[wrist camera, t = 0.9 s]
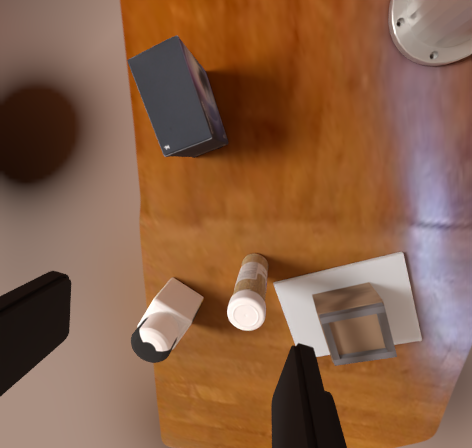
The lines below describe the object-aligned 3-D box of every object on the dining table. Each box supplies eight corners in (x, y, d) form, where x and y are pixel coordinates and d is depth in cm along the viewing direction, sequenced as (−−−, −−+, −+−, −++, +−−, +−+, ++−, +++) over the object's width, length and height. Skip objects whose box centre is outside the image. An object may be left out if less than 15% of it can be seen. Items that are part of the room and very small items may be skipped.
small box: (232, 143, 35) (215, 139, 25) (193, 158, 37) (162, 159, 27) (207, 68, 33) (178, 30, 23) (167, 87, 34) (123, 60, 24)
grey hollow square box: (369, 282, 37) (385, 304, 32) (381, 329, 39) (398, 357, 33) (311, 294, 39) (317, 317, 34) (326, 338, 41) (333, 366, 36)
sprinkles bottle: (270, 275, 40) (267, 332, 27) (243, 277, 41) (229, 332, 28) (266, 251, 39) (262, 297, 26) (239, 253, 40) (223, 299, 27)
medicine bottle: (187, 322, 46) (158, 377, 34) (156, 302, 46) (117, 351, 34) (205, 296, 43) (180, 347, 32) (172, 275, 43) (136, 318, 32)
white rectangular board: (401, 251, 36) (403, 253, 35) (419, 337, 39) (422, 340, 38) (273, 282, 40) (273, 284, 40) (300, 356, 44) (300, 359, 43)
